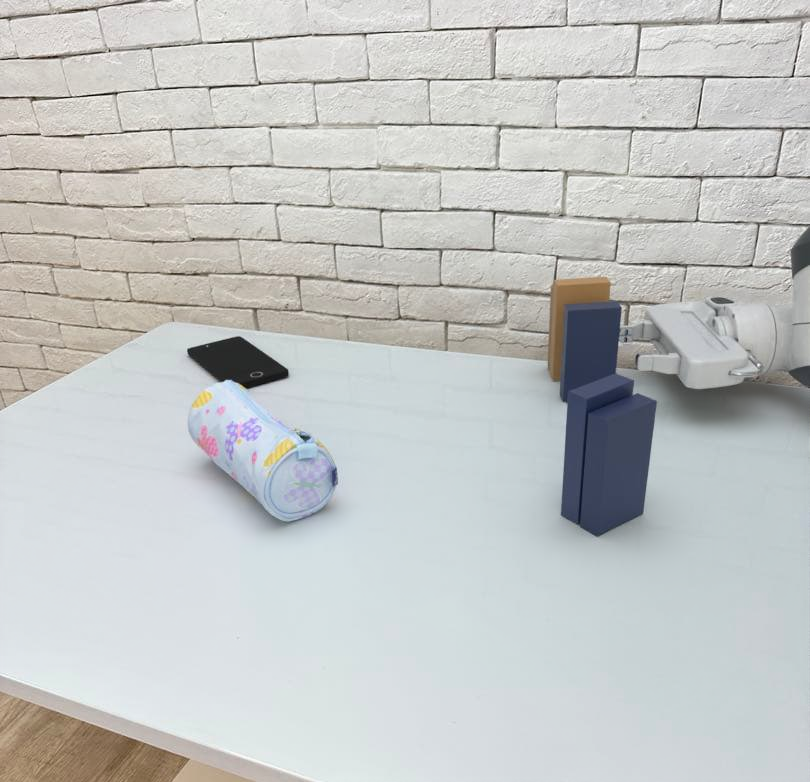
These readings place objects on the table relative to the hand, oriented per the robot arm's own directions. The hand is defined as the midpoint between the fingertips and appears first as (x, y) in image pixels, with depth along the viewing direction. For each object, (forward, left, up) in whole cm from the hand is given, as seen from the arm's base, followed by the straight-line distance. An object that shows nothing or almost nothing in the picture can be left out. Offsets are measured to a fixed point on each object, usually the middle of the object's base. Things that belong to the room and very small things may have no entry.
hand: (626, 347), depth 106 cm
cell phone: (+46, -30, -7) cm, 56 cm away
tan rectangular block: (+2, -9, -7) cm, 11 cm away
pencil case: (+47, +7, -7) cm, 48 cm away
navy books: (+15, +25, -7) cm, 30 cm away
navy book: (+4, -1, -7) cm, 8 cm away
